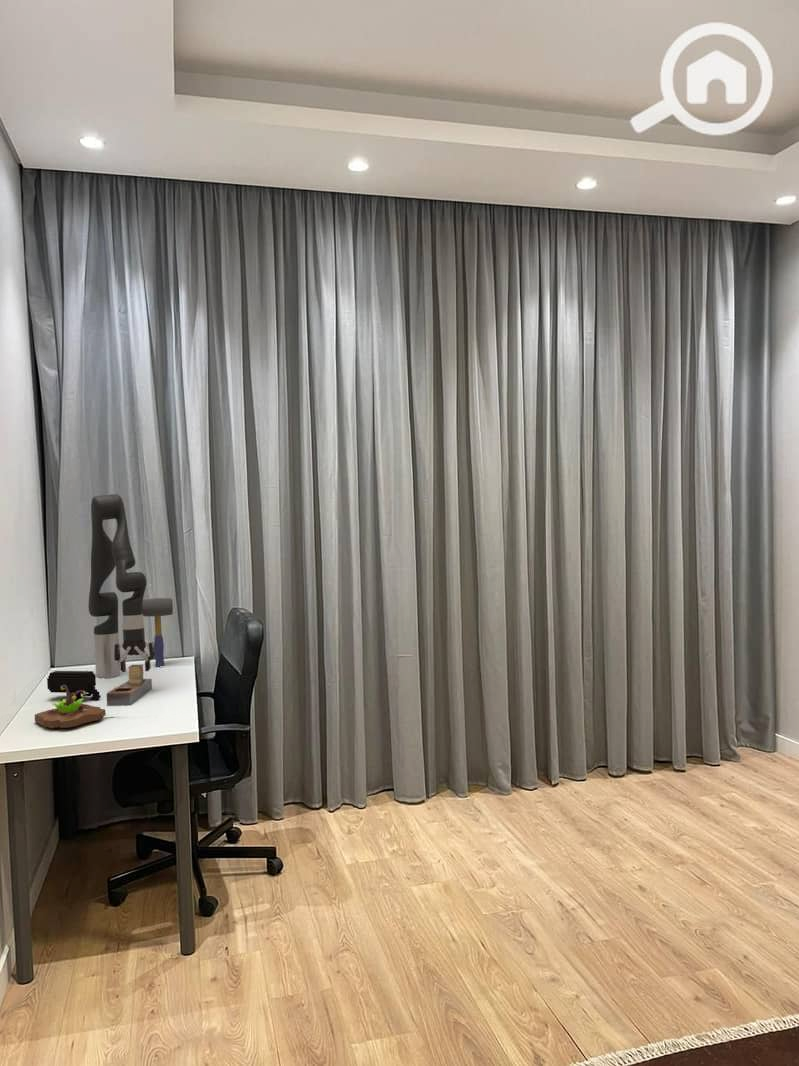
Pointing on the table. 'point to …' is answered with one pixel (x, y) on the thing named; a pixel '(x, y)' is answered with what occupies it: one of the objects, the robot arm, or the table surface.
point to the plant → (69, 712)
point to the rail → (128, 693)
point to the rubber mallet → (158, 622)
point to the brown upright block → (136, 674)
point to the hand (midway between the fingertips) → (135, 671)
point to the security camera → (74, 683)
